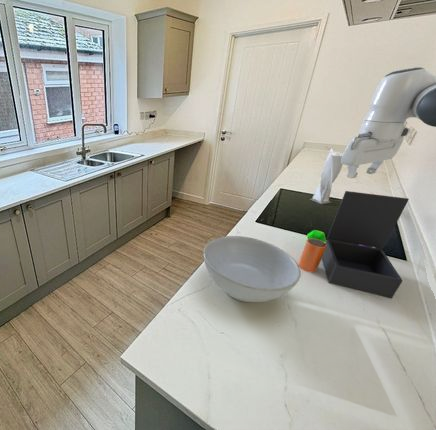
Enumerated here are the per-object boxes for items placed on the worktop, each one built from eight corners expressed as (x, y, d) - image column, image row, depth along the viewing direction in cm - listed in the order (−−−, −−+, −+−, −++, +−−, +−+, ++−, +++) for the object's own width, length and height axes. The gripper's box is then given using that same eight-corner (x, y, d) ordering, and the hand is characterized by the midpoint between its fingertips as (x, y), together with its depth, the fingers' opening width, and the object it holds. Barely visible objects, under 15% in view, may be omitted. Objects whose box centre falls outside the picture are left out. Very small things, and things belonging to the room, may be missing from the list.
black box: (390, 300, 80) (402, 280, 76) (327, 284, 86) (336, 266, 83) (372, 267, 94) (382, 249, 90) (319, 256, 100) (326, 239, 97)
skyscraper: (307, 198, 147) (324, 148, 135) (318, 196, 149) (336, 147, 137) (321, 204, 140) (340, 152, 127) (332, 202, 142) (353, 151, 129)
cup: (314, 266, 95) (325, 240, 90) (317, 275, 90) (328, 249, 85) (296, 262, 97) (305, 237, 92) (298, 270, 93) (307, 244, 88)
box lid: (409, 199, 81) (407, 198, 82) (346, 191, 88) (345, 190, 89) (383, 248, 89) (382, 247, 90) (327, 238, 96) (326, 237, 97)
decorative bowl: (203, 257, 101) (207, 230, 96) (282, 272, 92) (292, 244, 87) (194, 306, 79) (199, 275, 74) (296, 333, 70) (311, 300, 65)
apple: (317, 231, 102) (326, 223, 107) (300, 235, 108) (309, 228, 112) (326, 247, 101) (335, 239, 106) (309, 250, 107) (318, 243, 111)
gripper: (369, 135, 72) (350, 183, 78) (413, 129, 78) (392, 174, 84) (344, 132, 77) (328, 177, 83) (387, 126, 83) (369, 168, 89)
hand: (360, 175), depth 84 cm, fingers open, 8 cm apart
